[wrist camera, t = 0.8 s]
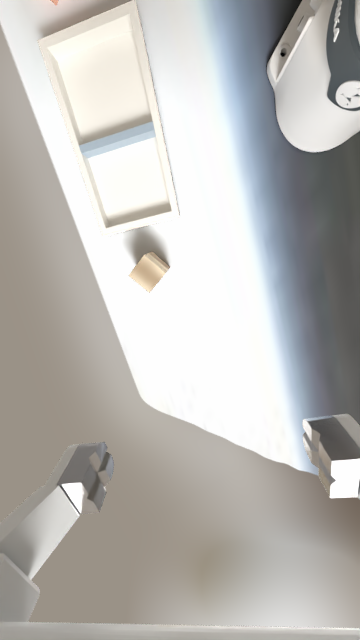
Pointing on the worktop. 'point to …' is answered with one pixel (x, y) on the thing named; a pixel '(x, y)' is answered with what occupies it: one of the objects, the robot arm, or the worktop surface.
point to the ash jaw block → (149, 271)
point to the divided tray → (113, 118)
